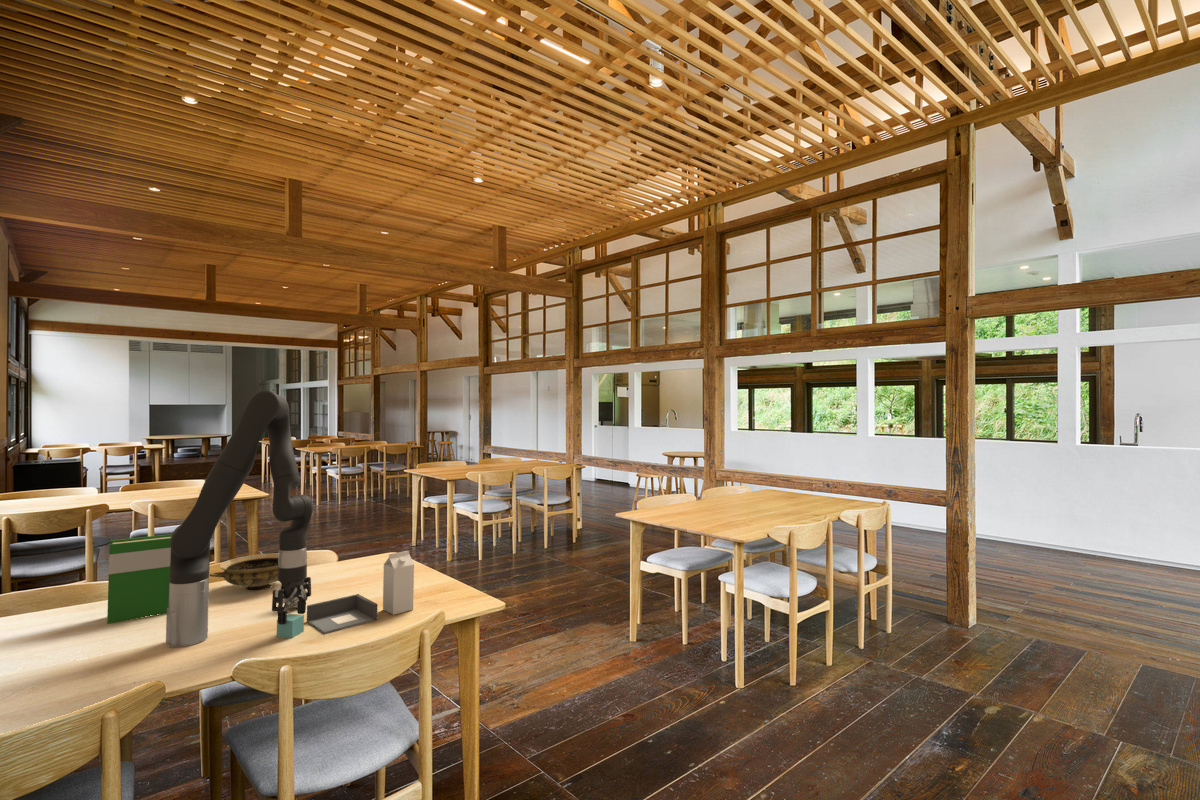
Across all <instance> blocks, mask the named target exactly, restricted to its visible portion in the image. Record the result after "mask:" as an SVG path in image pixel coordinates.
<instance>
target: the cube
mask: <svg viewBox="0 0 1200 800" xmlns="http://www.w3.org/2000/svg"><path fill="white" fill-rule="evenodd" d="M304 626H305V614H298V613H287V623H286V624H284V625H281V624H278V619H277V620H276V638H285V639H293V638H295V637H297V636H299V635H301V634H302V633H304V632H305V627H304Z"/></svg>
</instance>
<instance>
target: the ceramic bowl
mask: <svg viewBox="0 0 1200 800" xmlns="http://www.w3.org/2000/svg"><path fill="white" fill-rule="evenodd" d="M278 556H279V552H277V553H276V552H275V553H274V552H271V553H257V554H250V555H245V556H239V557H236V558H232V559H228V560H226V561H224V562H222V563H220V564H219V568H220V569H221V570H223V571H221V572H219V571H218V572H211V573H209V577H213V578H222V579H224V580H225V582H227V583H229V584H231V585H233V586H234V585H235V586H239V587H246V588H245V590H246V591H249V592H250V591H252V592H253V591H254V592H256V591H263V590H267V589H269V588H271V587H272V584H273V583H277V582H279V581H278Z"/></svg>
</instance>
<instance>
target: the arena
mask: <svg viewBox="0 0 1200 800" xmlns="http://www.w3.org/2000/svg"><path fill="white" fill-rule="evenodd" d="M375 621H378V603H376V602H374V601H372V600H371V599H369V598H366V597H365V596H363V595H361V594H360V593H357V594H352V595H348V596H344V597H340V598H339V597H338V598H335V599H331V600H330V599H329V600H325V601H321V602H317V603H312V604H308V605H307V604H306V622H307V624H309V625H311V626H312V627H314V628H316V630H318V631H320V632H321V633H323V634H324V635H327V634H330V633H334V632H338V631H341V630H345V629H349V628H352V627H356V626H360V625H364V624H368V623H372V622H375Z"/></svg>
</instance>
